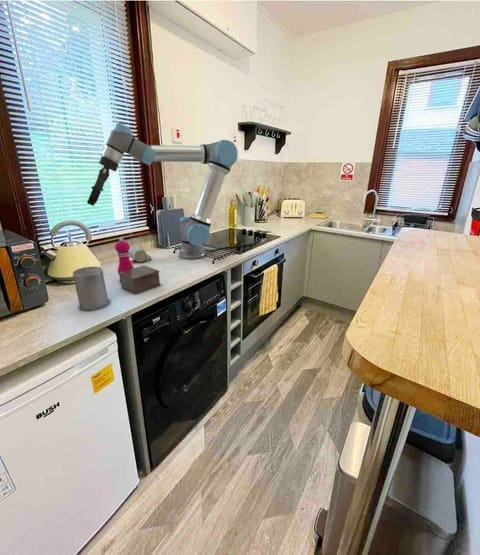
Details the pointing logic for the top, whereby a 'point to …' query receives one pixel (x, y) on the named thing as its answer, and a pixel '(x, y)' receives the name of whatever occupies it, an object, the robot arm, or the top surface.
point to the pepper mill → (123, 256)
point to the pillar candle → (90, 288)
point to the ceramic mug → (138, 254)
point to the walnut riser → (139, 279)
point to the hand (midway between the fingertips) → (91, 203)
